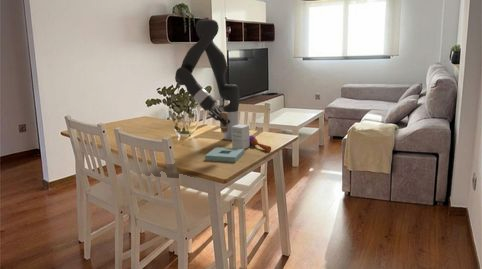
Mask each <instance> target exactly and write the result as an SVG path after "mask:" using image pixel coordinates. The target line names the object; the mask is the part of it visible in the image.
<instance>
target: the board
mask: <svg viewBox="0 0 482 269" xmlns="http://www.w3.org/2000/svg"><path fill="white" fill-rule="evenodd" d="M243 155H245V149H236V148H232V147H214V148H213V149H211V150H210V151H209V152H208V153H207V154H205V155H204V160H205V161H211V162H212V161H213V162H228V163H237V162H238V160H240V159H241V157H243Z"/></svg>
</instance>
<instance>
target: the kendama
mask: <svg viewBox="0 0 482 269" xmlns="http://www.w3.org/2000/svg"><path fill="white" fill-rule="evenodd" d="M249 139H250V147H255V146H256V147H257V146H258V147H260V149H262V150H264V151H265V152H266V153H269V152H271V151H272V146H270V145H265V144H264V143H263V144H262V143H260V142H258V139H256V137H255V136H254V135H249Z"/></svg>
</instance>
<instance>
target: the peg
mask: <svg viewBox="0 0 482 269" xmlns="http://www.w3.org/2000/svg"><path fill="white" fill-rule="evenodd" d="M220 113H221V114H220V115H221V116H222V117H223V118H224V119H225V120H226V121H227V122H228V112H220ZM219 122H220V121H219ZM219 127H220V132H221V133H223V134H224V133H226V132H228V131H227V129H228V124H227V125H226V126H224V125H223V124H222V123H221V122H220V123H219Z"/></svg>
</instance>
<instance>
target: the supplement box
mask: <svg viewBox="0 0 482 269" xmlns="http://www.w3.org/2000/svg"><path fill="white" fill-rule="evenodd" d="M249 136H250V125H247V124H241V123H239V124H238V125H235V126H232V140H231V148H236V149H244V150H245V149H248V148H250V147H251V146H250V139H249Z"/></svg>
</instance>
